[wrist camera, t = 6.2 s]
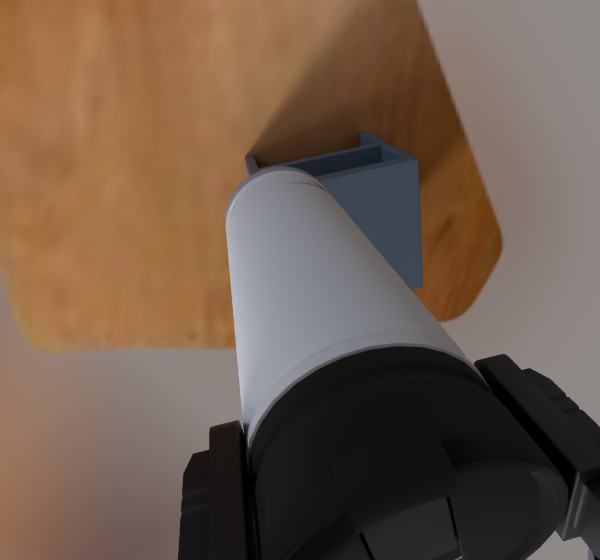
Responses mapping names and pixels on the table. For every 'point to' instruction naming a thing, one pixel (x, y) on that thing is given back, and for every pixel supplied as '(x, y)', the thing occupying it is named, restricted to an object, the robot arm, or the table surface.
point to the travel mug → (366, 400)
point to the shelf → (374, 197)
